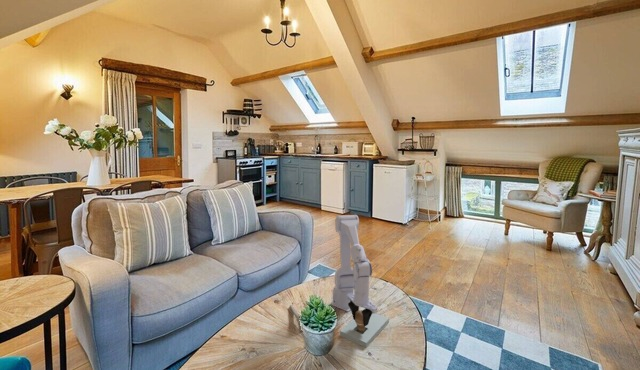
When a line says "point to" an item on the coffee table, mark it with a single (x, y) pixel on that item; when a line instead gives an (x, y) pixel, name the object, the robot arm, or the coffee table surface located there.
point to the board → (370, 330)
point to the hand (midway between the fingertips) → (360, 321)
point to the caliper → (296, 316)
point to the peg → (359, 320)
